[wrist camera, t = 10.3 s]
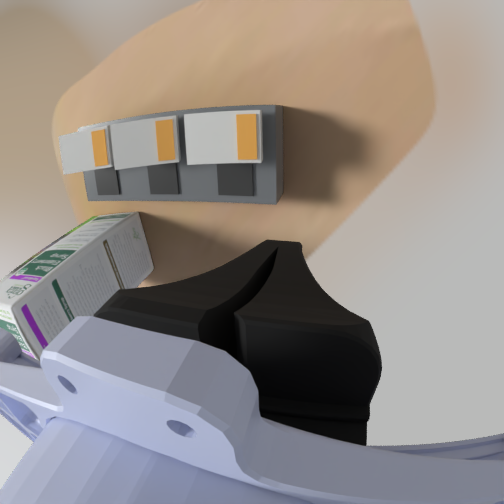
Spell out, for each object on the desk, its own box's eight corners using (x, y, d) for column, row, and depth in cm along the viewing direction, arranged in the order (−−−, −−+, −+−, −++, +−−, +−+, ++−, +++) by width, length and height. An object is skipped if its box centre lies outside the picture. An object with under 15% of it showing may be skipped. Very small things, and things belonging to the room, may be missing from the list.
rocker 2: (180, 159, 18) (178, 162, 17) (120, 166, 18) (114, 170, 17) (178, 115, 17) (175, 115, 16) (115, 124, 16) (109, 125, 15)
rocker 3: (263, 159, 17) (260, 163, 15) (193, 161, 17) (186, 165, 16) (262, 109, 15) (259, 109, 14) (190, 113, 16) (183, 114, 15)
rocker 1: (118, 163, 19) (111, 167, 18) (71, 170, 19) (62, 175, 18) (114, 124, 18) (106, 125, 17) (67, 134, 18) (57, 136, 17)
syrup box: (139, 209, 25) (6, 303, 12) (157, 270, 27) (54, 384, 14) (93, 215, 26) (-26, 295, 13) (111, 270, 29) (12, 363, 16)
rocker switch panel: (283, 191, 21) (274, 208, 18) (110, 190, 24) (82, 203, 21) (282, 105, 18) (273, 104, 15) (102, 123, 22) (71, 129, 19)
